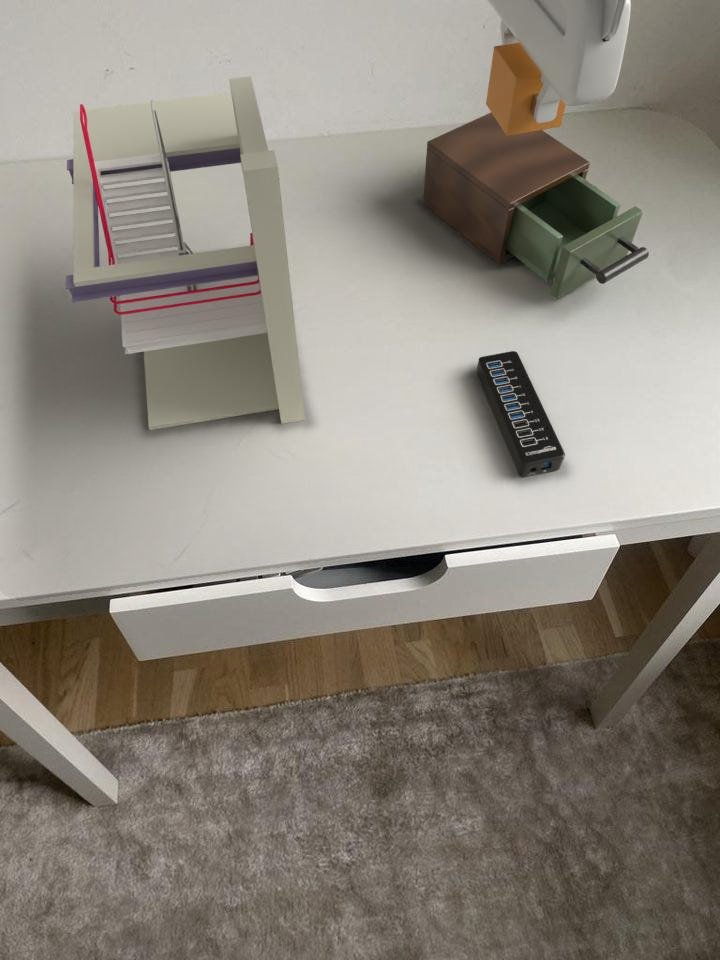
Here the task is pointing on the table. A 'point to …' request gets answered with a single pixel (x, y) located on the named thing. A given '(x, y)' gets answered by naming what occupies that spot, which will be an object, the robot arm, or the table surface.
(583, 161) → the cabinet
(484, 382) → the multiport hub
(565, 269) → the drawer
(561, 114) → the block
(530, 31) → the robot arm
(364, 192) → the table surface
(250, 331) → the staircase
